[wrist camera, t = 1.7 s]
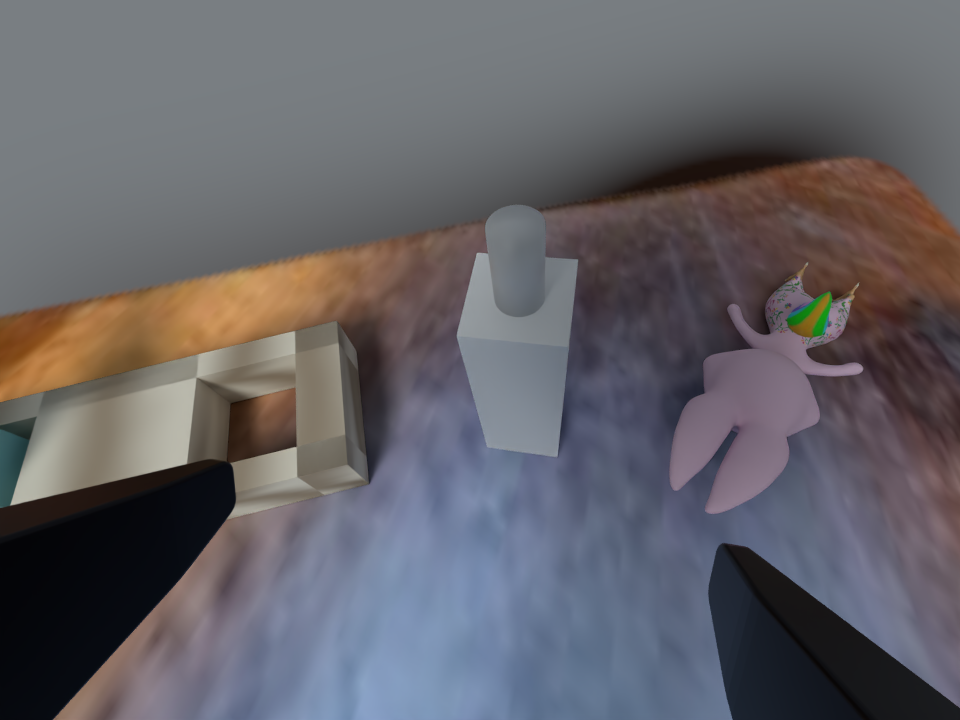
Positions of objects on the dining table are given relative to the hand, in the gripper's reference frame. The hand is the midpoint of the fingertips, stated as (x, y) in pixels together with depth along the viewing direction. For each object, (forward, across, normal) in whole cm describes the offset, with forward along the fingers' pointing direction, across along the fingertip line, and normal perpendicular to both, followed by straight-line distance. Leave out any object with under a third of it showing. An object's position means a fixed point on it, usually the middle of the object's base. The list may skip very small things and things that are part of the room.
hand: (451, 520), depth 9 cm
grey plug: (+15, 0, +4) cm, 15 cm away
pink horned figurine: (+17, -11, +2) cm, 20 cm away
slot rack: (+11, +19, +8) cm, 23 cm away
